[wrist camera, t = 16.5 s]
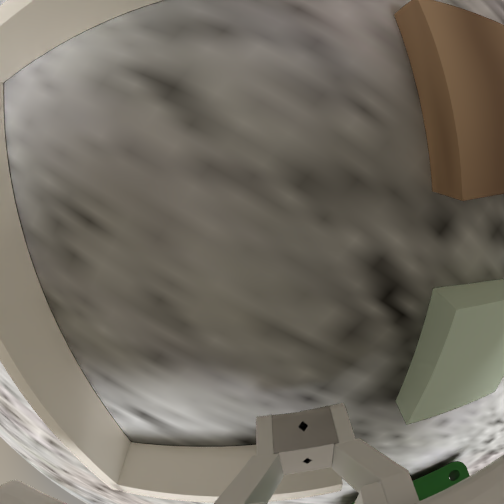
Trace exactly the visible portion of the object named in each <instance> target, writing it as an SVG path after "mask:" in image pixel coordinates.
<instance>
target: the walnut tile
mask: <svg viewBox="0 0 504 504" xmlns="http://www.w3.org/2000/svg"><path fill="white" fill-rule="evenodd" d="M394 16H395V19H396V21H397V24H398V27H399V30H400V32H401V35H402V38H403V41H404V44H405V47H406V50H407V54H408V57H409V60H410V64H411V67H412V71H413V74H414V78H415V82H416V86H417V90H418V95H419V99H420V104H421V109H422V114H423V119H424V125H425V131H426V137H427V144H428V151H429V159H430V168H431V179H432V191H433V192H436V193H439V194H442V195H446V196H449V197H452V198H455V199H458V200H461V201H465V200H471V199H476V198H482V197H487V196H493V195H499V194H504V25H502V24H500V23H498V22H496V21H493V20H491V19H488V18H486V17H483V16H481V15H478V14H476V13H473V12H470V11H467V10H464V9H461V8H458V7H455V6H452V5H448V4H445V3H441V2H438V1H434V0H411V1H410V2H409V3H407V4H406V5H405V6H404V7H402V8H401V9H400V10H399V11H398V12H396V13H395V14H394Z"/></svg>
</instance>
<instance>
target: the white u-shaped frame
mask: <svg viewBox="0 0 504 504" xmlns="http://www.w3.org/2000/svg"><path fill="white" fill-rule="evenodd" d="M159 1H163V0H7V1H6V2H5V3H3V4H2V5H1V6H0V361H1V362H2V364H3V366H4V367H5V369H6V371H7V372H8V374H9V375H10V377H11V378H12V380H13V381H14V383H15V384H16V386H17V387H18V389H19V390H20V392H21V393H22V394H23V396H24V397H25V399H26V400H27V401H28V403H29V404H30V405H31V407H32V408H33V409H34V410H35V412H36V413H37V414H38V416H39V417H40V418H41V419H42V420H43V422H44V423H45V424H46V425H47V426H48V428H49V429H50V430H51V431H52V432H53V433H54V435H55V436H56V437H57V438H58V439H59V440H60V441H61V442H62V443H63V444H64V445H65V446H66V448H67V449H68V450H69V451H70V452H71V453H72V454H73V455H74V456H75V457H76V458H77V459H78V460H79V461H80V462H81V463H83V464H84V465H85V466H86V467H87V468H88V469H89V470H90V471H91V472H92V473H93V474H94V475H96V476H97V477H98V478H99V479H100V480H101V481H102V482H104V483H105V484H106V485H107V486H108V487H110V488H111V489H114V490H119V491H123V492H128V493H133V494H138V495H143V496H149V497H155V498H163V499H170V500H179V501H191V502H207V503H214V502H215V501H216V500H217V499H218V497H219V496H220V495H221V494H222V493H223V492H224V490H225V489H226V488H227V487H228V486H229V484H230V483H231V482H232V481H233V480H234V478H235V477H236V476H237V475H238V473H239V472H240V471H241V470H242V468H243V467H244V466H245V465H246V463H247V462H248V461H249V459H250V458H251V457H252V456H254V455H257V452H256V445H245V446H224V447H186V446H165V445H152V444H142V443H133V442H131V441H130V440H129V439H128V438H127V436H126V435H125V434H124V433H123V431H122V430H121V429H120V427H119V426H118V425H117V423H116V422H115V421H114V419H113V418H112V416H111V415H110V414H109V412H108V411H107V409H106V408H105V407H104V405H103V404H102V402H101V401H100V399H99V398H98V396H97V395H96V393H95V392H94V390H93V388H92V387H91V385H90V384H89V382H88V380H87V379H86V377H85V375H84V374H83V372H82V370H81V369H80V367H79V365H78V364H77V362H76V360H75V358H74V356H73V355H72V353H71V351H70V349H69V347H68V345H67V343H66V341H65V339H64V337H63V335H62V333H61V331H60V329H59V327H58V325H57V323H56V321H55V319H54V317H53V314H52V312H51V310H50V308H49V305H48V303H47V301H46V298H45V296H44V293H43V291H42V288H41V286H40V283H39V281H38V278H37V275H36V272H35V270H34V267H33V264H32V261H31V258H30V255H29V252H28V249H27V245H26V242H25V239H24V235H23V232H22V228H21V224H20V220H19V216H18V212H17V208H16V204H15V199H14V194H13V189H12V184H11V178H10V172H9V165H8V158H7V150H6V140H5V128H4V108H3V83H4V82H5V81H6V80H8V79H9V78H10V77H11V76H13V75H14V74H15V73H17V72H18V71H20V70H21V69H22V68H24V67H25V66H27V65H28V64H30V63H31V62H32V61H34V60H35V59H37V58H39V57H40V56H42V55H43V54H45V53H46V52H48V51H50V50H51V49H53V48H55V47H56V46H58V45H60V44H62V43H63V42H65V41H67V40H69V39H71V38H72V37H74V36H76V35H78V34H80V33H82V32H84V31H86V30H88V29H90V28H92V27H94V26H96V25H99V24H101V23H103V22H105V21H108V20H110V19H112V18H115V17H117V16H120V15H122V14H125V13H127V12H130V11H133V10H135V9H138V8H141V7H144V6H147V5H150V4H153V3H156V2H159ZM342 485H343V483H342V478H341V476H339V475H338V474H337V473H336V472H335V471H334V470H333V469H332V467H331V468H325V469H319V470H313V471H306V472H301V473H295V474H288V475H284V477H283V479H282V480H281V482H280V484H279V485H278V487H277V489H276V490H275V492H274V494H273V495H272V497H271V498H270V500H269V501H280V500H290V499H298V498H305V497H311V496H317V495H323V494H328V493H333V492H338V491H341V488H342ZM269 501H268V502H269Z"/></svg>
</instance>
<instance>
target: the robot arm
mask: <svg viewBox="0 0 504 504" xmlns="http://www.w3.org/2000/svg"><path fill="white" fill-rule="evenodd" d="M256 452H257V455H254V456H252V457H251V458H250V459H249V461H248V462H247V463H246V465H245V466H244V467H243V468H242V470H241V471H240V472H239V473H238V475H237V476H236V477H235V478H234V480H233V481H232V482H231V483H230V484H229V486H228V487H227V488H226V489H225V490H224V492H223V493H222V494H221V495H220V496H219V497H218V499H217V500H216V501H215V502H214V504H267V503H268V501H269V500H270V498H271V497H272V495H273V494H274V492H275V490H276V489H277V487H278V485H279V484H280V482H281V480H282V479H283V477H284V475H288V474H295V473H301V472H306V471H313V470H319V469H325V468H331V467H332V469H333V470H334V471H335V472H336V473H337V474H338V475H339V476H341V477H342V478H343V479H344V480H345V481H346V482H347V483H348V484H349V485H350V486H352V487H353V488H354V489H355V490H356V491H357V492H358V493H359V494H358V497H357V499H356V501H355V503H354V504H504V455H502V456H501V457H499V458H498V459H497V460H495V461H494V462H492V463H491V464H489V465H487V466H486V467H484V468H483V469H481V470H479V471H478V472H476V473H475V474H473V475H471V476H469V477H468V478H466V479H464V480H462V481H460V482H459V483H457V484H455V485H453V486H451V487H449V488H447V489H445V490H443V491H441V492H439V493H437V494H435V495H432V496H430V497H428V498H426V499H423V500H421V501H419V499H418V496H417V493H416V490H415V487H414V485H413V482H412V479H411V476H410V474H409V471H408V470H407V469H405V468H404V467H402V466H400V465H399V464H397V463H396V462H394V461H393V460H391V459H390V458H388V457H387V456H385V455H384V454H382V453H381V452H379V451H378V450H376V449H375V448H373V447H372V446H370V445H369V444H367V443H366V442H365V441H363V440H362V439H360V438H358V439H355V435H354V432H353V429H352V426H351V422H350V419H349V416H348V413H347V410H346V407H345V405H344V403H340V404H336V405H331V406H325V407H320V408H315V409H310V410H304V411H300V412H294V413H286V414H278V415H268V416H258V417H257V419H256ZM0 504H67V503H65V502H62V501H60V500H58V499H55V498H53V497H51V496H49V495H47V494H45V493H42V492H40V491H38V490H36V489H34V488H32V487H31V486H29V485H27V484H25V483H23V482H21V481H18V480H12V481H9V482H7V483H5V484H3V485H1V486H0Z"/></svg>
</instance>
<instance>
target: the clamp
mask: <svg viewBox="0 0 504 504" xmlns="http://www.w3.org/2000/svg"><path fill="white" fill-rule="evenodd" d="M449 477H450V479H449ZM468 477H469V473H468V470H467V468H466V466H465V465H464V464H463V463H462V462H458V461H455V462H452V463H449V464H448V465H446V466H444V467H442V468H440V469H438V470H436V471H434V472H431V473H429V474H427V475H425V476H423V477H420V478H418V479H416V480H414V481H412V482H413V485H414V487H415V490H416V493H417V496H418V499H419V501H421V500H423V499H426V498H428V497H430V496H432V495H435V494H437V493H439V492H441V491H443V490H445V489H447V488H449V487H451V486H453V485H455V484H457V483H459V482H460V481H462V480H464V479H466V478H468ZM354 503H355V502H353V503H352V504H354Z"/></svg>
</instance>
